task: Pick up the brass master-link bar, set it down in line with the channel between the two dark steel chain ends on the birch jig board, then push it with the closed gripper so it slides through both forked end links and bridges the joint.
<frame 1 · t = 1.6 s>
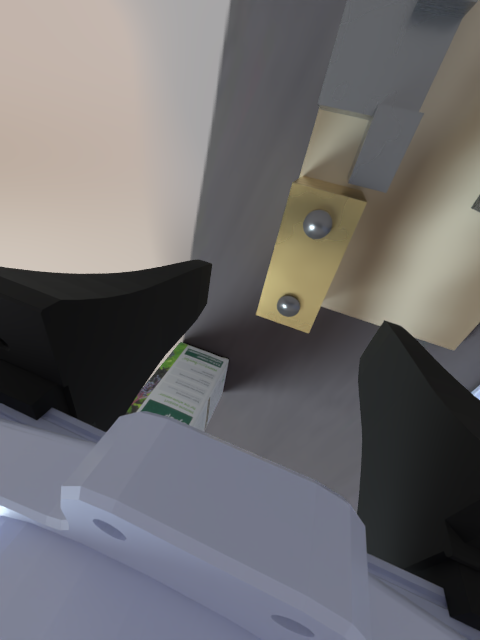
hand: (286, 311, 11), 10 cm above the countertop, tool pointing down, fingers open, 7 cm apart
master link: (309, 246, 18), point 1 cm above the countertop, touching jig board
jig board: (422, 190, 15), on the countertop
syrup box: (203, 367, 30), on the countertop
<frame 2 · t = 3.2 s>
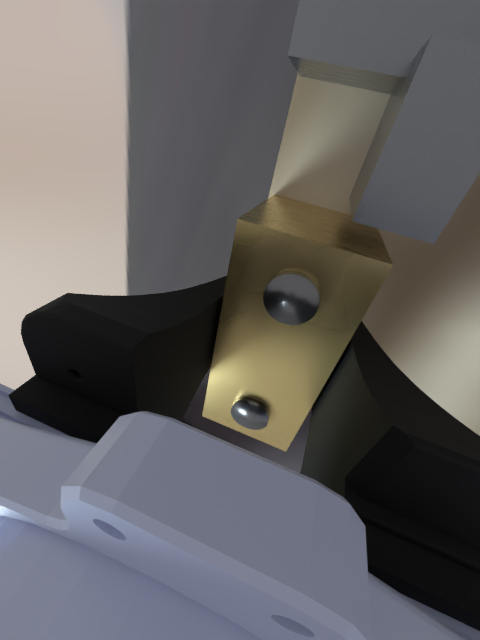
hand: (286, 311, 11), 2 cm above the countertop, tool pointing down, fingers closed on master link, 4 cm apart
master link: (289, 302, 12), point 1 cm above the countertop, touching gripper, jig board
when the fingers open (3 cm above the countertop, at t = 5.9 s): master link stays where it is, resting on jig board.
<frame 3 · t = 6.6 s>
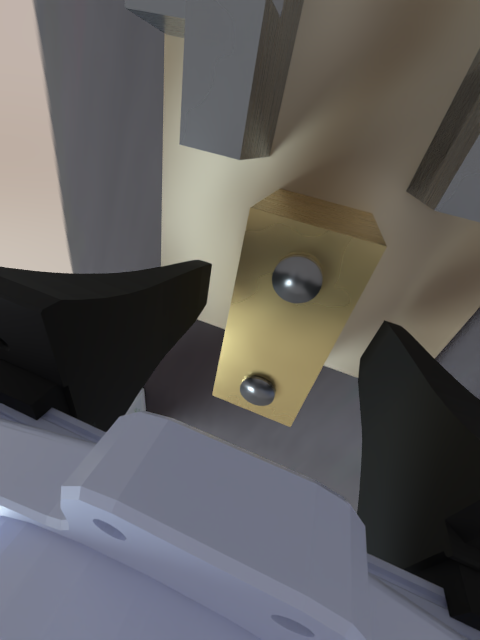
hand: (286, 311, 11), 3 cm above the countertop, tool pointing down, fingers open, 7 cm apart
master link: (293, 290, 13), point 1 cm above the countertop, touching jig board
jig board: (337, 165, 10), on the countertop
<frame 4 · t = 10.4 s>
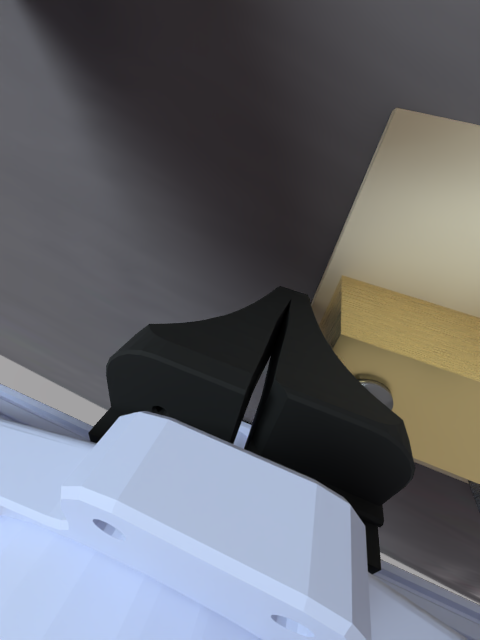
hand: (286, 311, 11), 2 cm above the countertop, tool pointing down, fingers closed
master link: (419, 343, 11), point 1 cm above the countertop, touching gripper, jig board
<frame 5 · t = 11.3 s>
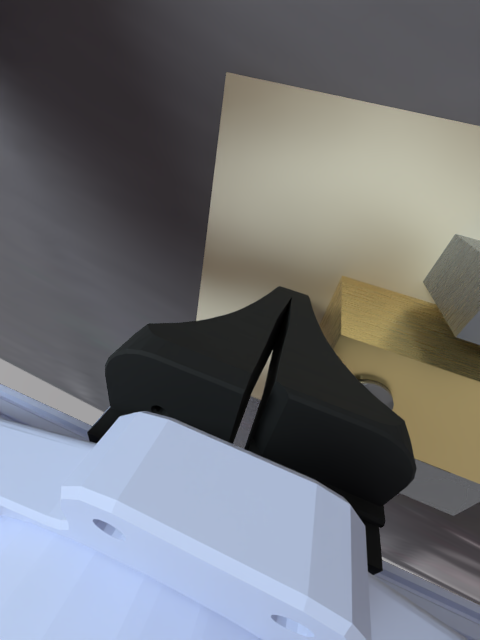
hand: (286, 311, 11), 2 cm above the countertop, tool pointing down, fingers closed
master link: (419, 343, 11), point 1 cm above the countertop, touching gripper, jig board
jig board: (389, 325, 12), on the countertop
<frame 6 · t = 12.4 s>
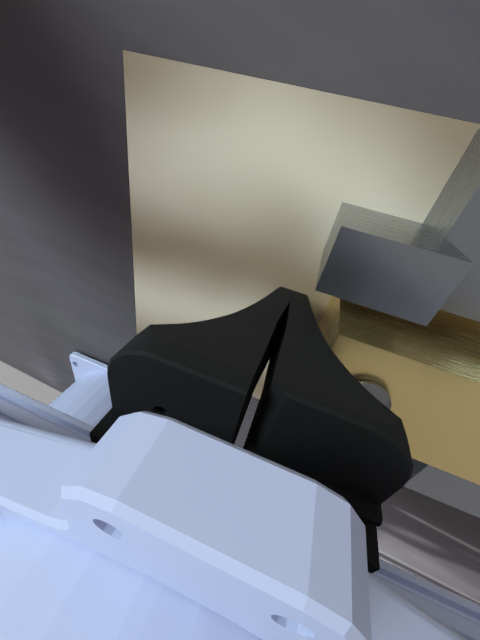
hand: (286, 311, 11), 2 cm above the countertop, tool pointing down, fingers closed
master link: (418, 343, 11), point 1 cm above the countertop, touching gripper, jig board
jig board: (308, 297, 12), on the countertop
chain ends: (406, 338, 11), resting on jig board
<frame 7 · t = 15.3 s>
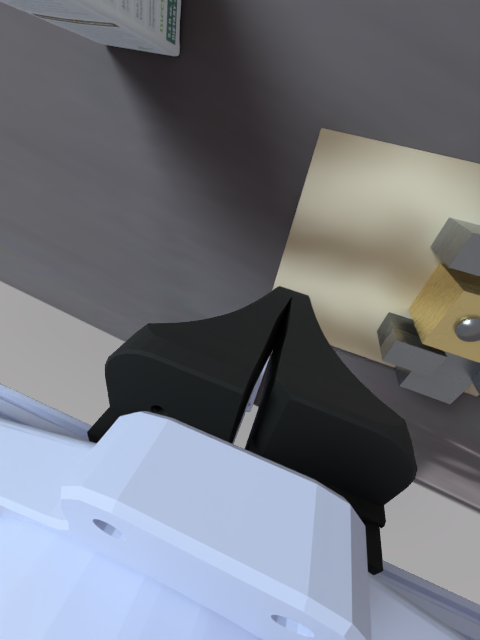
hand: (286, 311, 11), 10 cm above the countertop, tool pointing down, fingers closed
jig board: (408, 278, 19), on the countertop
chain ends: (479, 303, 17), resting on jig board
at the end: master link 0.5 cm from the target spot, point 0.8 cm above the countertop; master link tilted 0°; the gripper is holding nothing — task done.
